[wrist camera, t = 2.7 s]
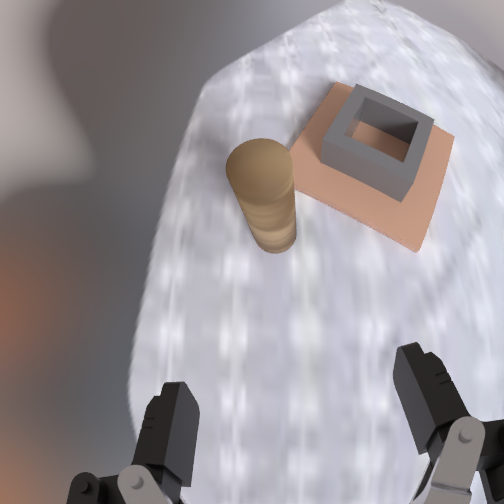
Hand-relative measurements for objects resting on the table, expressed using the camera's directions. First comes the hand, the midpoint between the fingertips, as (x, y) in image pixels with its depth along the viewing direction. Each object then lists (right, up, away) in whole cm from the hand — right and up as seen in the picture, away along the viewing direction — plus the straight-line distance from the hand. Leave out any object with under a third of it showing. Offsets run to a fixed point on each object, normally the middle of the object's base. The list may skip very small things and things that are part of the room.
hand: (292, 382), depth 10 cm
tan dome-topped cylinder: (+1, +7, +19) cm, 20 cm away
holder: (+12, +15, +19) cm, 27 cm away
